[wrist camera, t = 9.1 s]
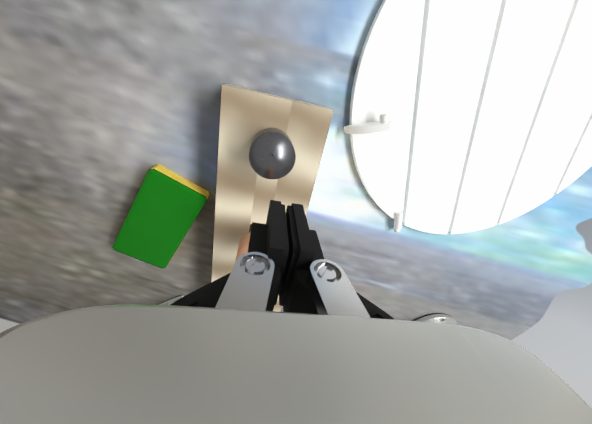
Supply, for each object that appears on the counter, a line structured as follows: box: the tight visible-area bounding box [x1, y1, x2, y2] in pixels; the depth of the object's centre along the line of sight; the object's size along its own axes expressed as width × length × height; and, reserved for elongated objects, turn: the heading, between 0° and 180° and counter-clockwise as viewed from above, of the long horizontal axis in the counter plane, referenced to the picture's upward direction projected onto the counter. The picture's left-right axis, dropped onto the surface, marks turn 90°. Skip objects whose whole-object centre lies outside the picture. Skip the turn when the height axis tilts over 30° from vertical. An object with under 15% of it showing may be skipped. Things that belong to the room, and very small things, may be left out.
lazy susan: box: [344, 0, 592, 234], centre depth 27 cm, size 40×39×4 cm
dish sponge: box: [112, 165, 210, 268], centre depth 31 cm, size 7×14×2 cm, turn 143°
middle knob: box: [235, 232, 251, 262], centre depth 28 cm, size 4×4×7 cm
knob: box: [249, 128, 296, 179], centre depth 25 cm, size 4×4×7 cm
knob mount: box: [211, 84, 334, 312], centre depth 31 cm, size 32×11×4 cm, turn 168°
